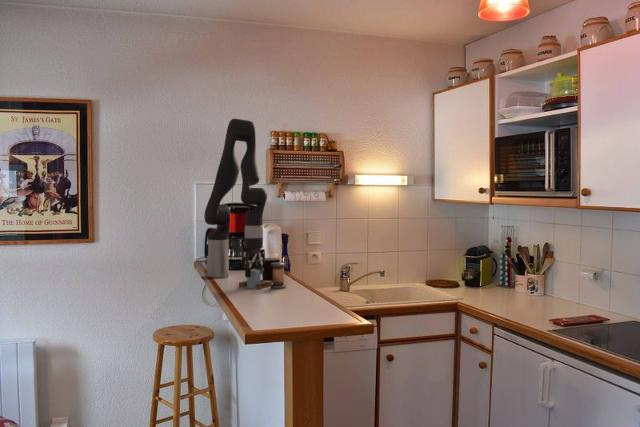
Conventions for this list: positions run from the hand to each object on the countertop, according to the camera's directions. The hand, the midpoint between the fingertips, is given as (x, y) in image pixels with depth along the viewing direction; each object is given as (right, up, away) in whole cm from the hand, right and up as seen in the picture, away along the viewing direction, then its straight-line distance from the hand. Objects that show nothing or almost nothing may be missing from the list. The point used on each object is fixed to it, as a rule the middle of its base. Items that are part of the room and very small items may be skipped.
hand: (253, 275), depth 220 cm
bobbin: (+10, -5, 0) cm, 11 cm away
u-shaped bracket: (+1, -5, +2) cm, 5 cm away
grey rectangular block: (0, -5, 0) cm, 5 cm away
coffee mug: (+5, -4, +16) cm, 18 cm away
